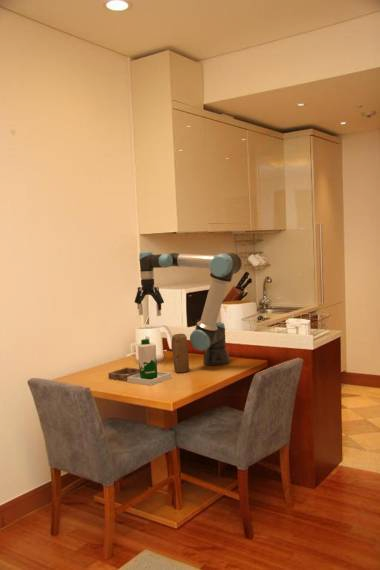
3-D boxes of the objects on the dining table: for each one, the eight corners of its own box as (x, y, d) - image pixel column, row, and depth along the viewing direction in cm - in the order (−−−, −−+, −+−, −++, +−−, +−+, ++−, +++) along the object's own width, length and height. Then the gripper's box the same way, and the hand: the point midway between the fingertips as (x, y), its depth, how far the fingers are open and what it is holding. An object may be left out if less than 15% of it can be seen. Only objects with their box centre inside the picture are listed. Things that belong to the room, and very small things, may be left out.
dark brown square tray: (146, 375, 289) (145, 369, 289) (128, 381, 278) (127, 375, 278) (127, 372, 298) (126, 367, 297) (108, 378, 286) (108, 373, 286)
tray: (171, 377, 280) (171, 372, 280) (151, 385, 267) (150, 380, 267) (148, 374, 290) (147, 370, 290) (127, 382, 277) (127, 377, 277)
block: (190, 372, 290) (187, 335, 288) (176, 374, 288) (174, 336, 286) (185, 368, 300) (183, 332, 299) (172, 369, 298) (169, 333, 297)
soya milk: (154, 375, 284) (151, 338, 283) (159, 379, 276) (157, 340, 274) (138, 378, 281) (135, 340, 279) (143, 382, 273) (140, 342, 271)
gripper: (168, 277, 305) (170, 315, 307) (135, 278, 320) (138, 313, 322) (159, 278, 299) (162, 317, 301) (126, 279, 314) (129, 315, 316)
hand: (149, 315), depth 312 cm, fingers open, 13 cm apart
